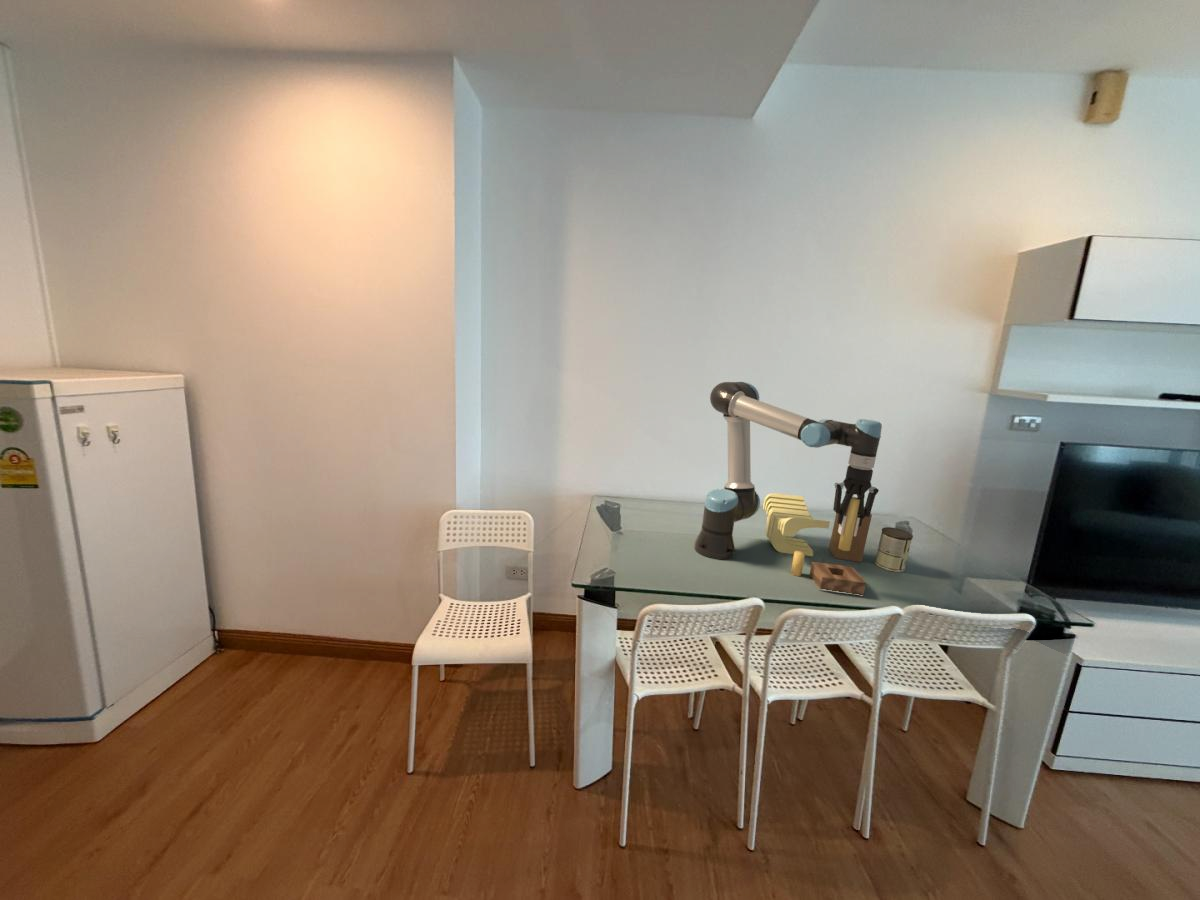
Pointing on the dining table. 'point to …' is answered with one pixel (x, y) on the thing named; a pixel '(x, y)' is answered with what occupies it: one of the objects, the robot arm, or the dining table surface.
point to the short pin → (797, 563)
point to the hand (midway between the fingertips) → (846, 533)
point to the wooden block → (856, 543)
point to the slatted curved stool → (789, 522)
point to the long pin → (849, 524)
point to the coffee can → (893, 549)
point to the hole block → (837, 578)
